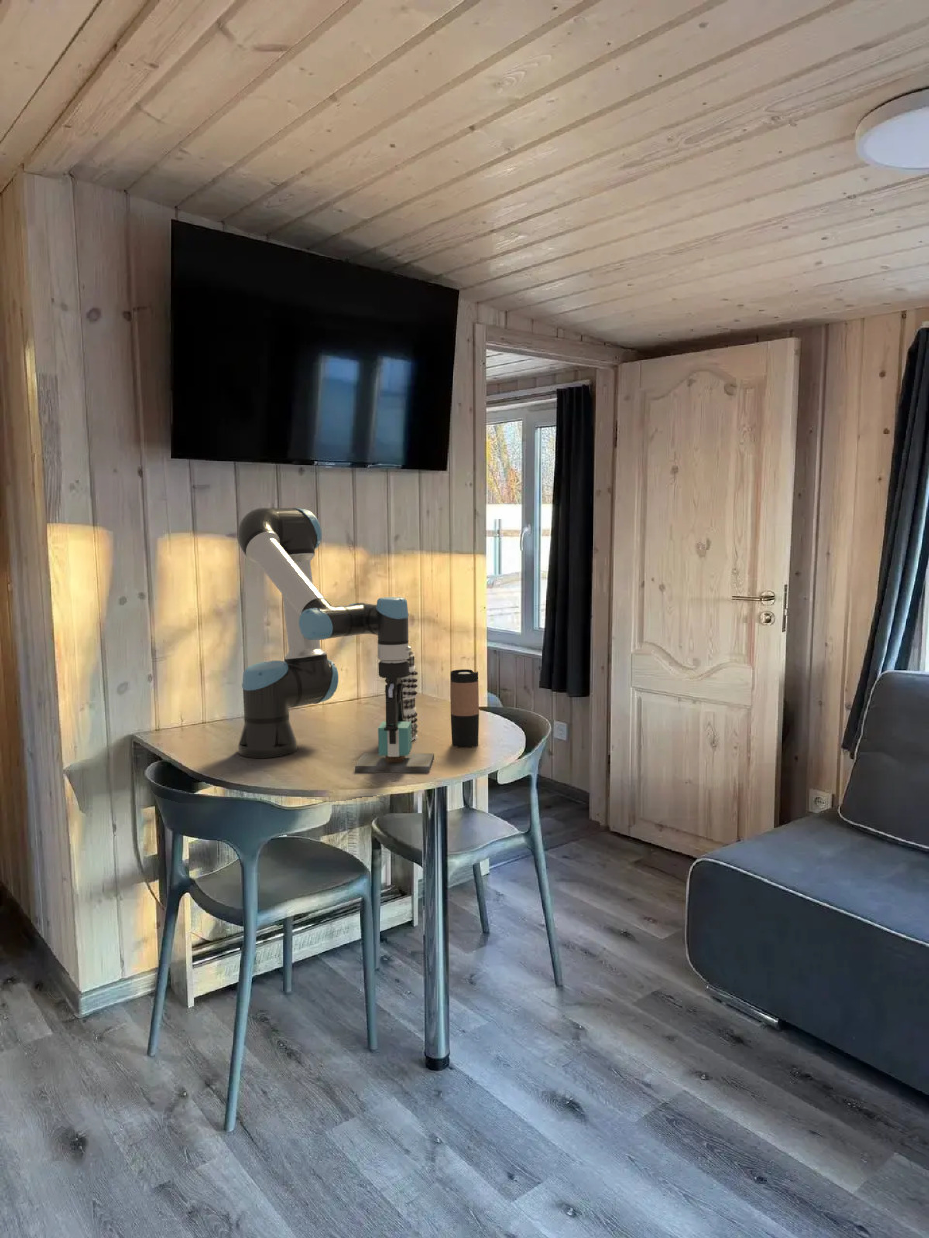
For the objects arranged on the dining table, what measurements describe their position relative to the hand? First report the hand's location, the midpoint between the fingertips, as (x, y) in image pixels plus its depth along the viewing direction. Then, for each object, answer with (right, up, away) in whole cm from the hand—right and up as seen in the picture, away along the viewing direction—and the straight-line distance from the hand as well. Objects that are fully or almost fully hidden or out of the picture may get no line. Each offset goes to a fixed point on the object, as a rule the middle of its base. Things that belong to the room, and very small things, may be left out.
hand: (395, 751), depth 213 cm
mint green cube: (0, 0, 0) cm, 0 cm away
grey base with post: (0, -3, 0) cm, 3 cm away
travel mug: (+17, -1, +20) cm, 27 cm away
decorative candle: (0, -1, +28) cm, 28 cm away
